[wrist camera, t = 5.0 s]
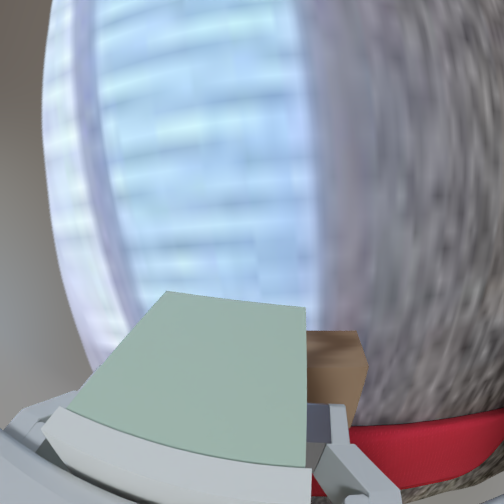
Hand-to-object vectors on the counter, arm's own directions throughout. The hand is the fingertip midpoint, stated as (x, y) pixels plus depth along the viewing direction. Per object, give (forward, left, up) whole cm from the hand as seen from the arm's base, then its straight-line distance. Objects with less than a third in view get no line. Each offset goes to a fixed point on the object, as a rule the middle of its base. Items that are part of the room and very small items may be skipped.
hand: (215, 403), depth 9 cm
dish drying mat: (-18, +25, -15) cm, 35 cm away
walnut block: (-5, +9, -15) cm, 18 cm away
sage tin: (0, 0, -3) cm, 3 cm away
